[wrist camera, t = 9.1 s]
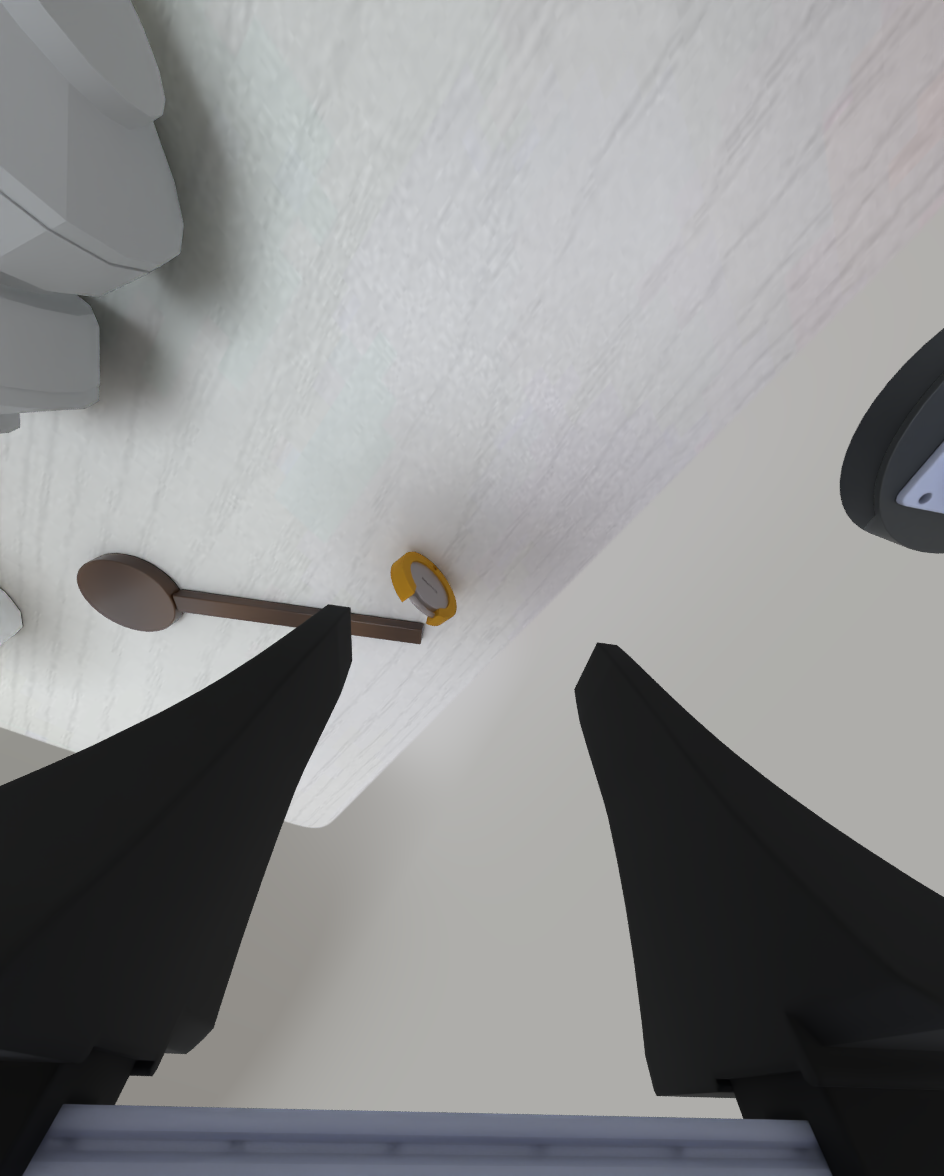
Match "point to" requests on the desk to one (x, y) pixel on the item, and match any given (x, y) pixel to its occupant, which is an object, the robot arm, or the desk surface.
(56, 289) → the headphones
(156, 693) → the desk surface
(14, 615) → the foam cup
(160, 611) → the spoon
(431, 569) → the tracker
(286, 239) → the desk surface
